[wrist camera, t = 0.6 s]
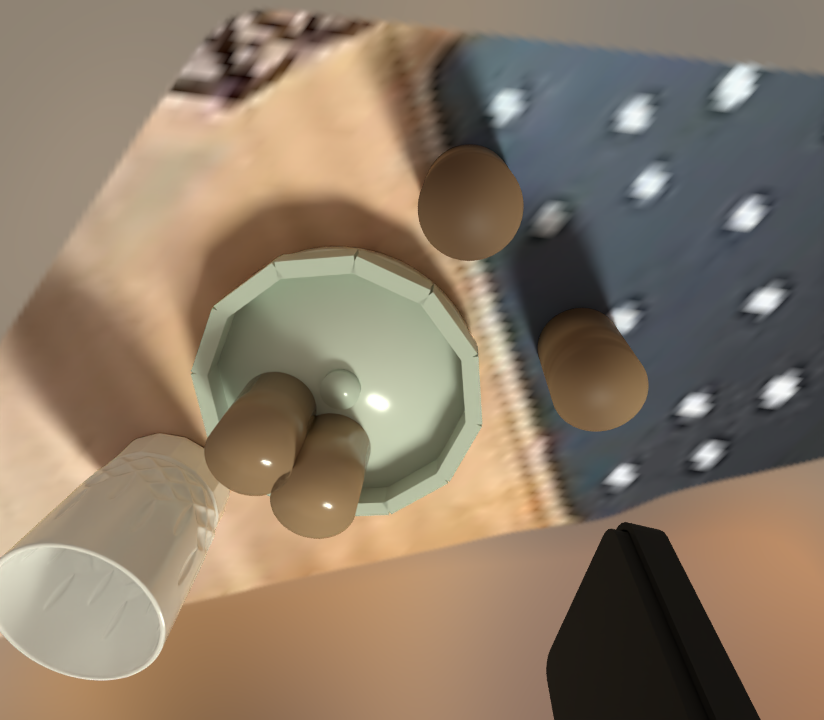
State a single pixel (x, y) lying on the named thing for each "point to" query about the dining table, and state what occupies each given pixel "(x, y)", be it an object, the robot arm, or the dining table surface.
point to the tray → (336, 387)
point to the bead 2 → (591, 370)
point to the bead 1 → (470, 203)
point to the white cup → (113, 562)
